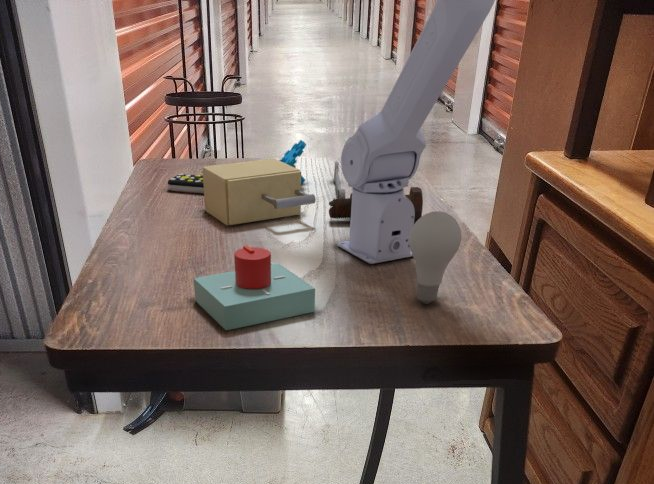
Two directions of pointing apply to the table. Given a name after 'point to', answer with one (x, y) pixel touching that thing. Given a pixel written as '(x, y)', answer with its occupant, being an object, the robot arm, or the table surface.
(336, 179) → the combination wrench
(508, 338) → the table surface
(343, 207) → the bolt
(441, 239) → the lightbulb
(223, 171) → the cabinet
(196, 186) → the remote control
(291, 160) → the blue jagged angular piece
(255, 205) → the cabinet door
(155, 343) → the table surface
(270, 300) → the panel
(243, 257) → the cylinder
